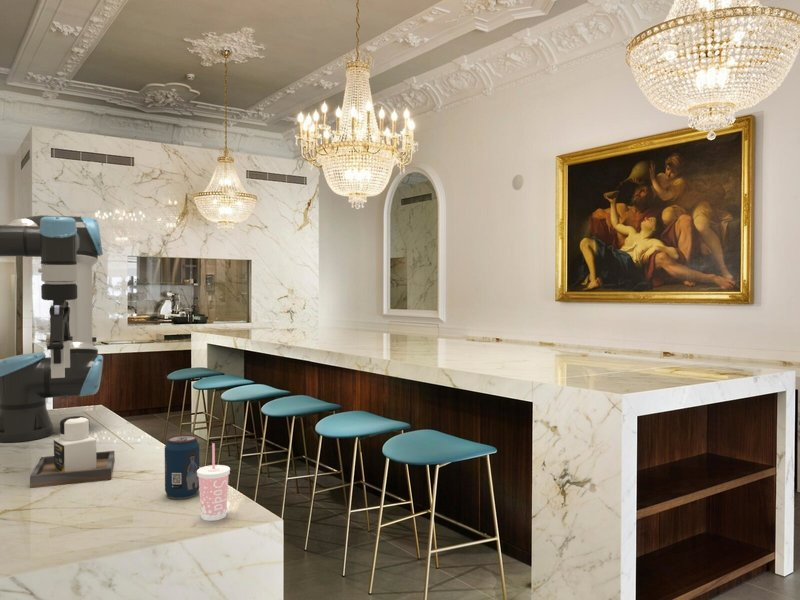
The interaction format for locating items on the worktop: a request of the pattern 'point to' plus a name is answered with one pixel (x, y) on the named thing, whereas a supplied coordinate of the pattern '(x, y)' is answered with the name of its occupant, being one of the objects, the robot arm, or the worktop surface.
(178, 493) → the soda can
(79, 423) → the medicine bottle
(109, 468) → the wooden tray
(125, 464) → the worktop surface
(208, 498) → the beverage cup
